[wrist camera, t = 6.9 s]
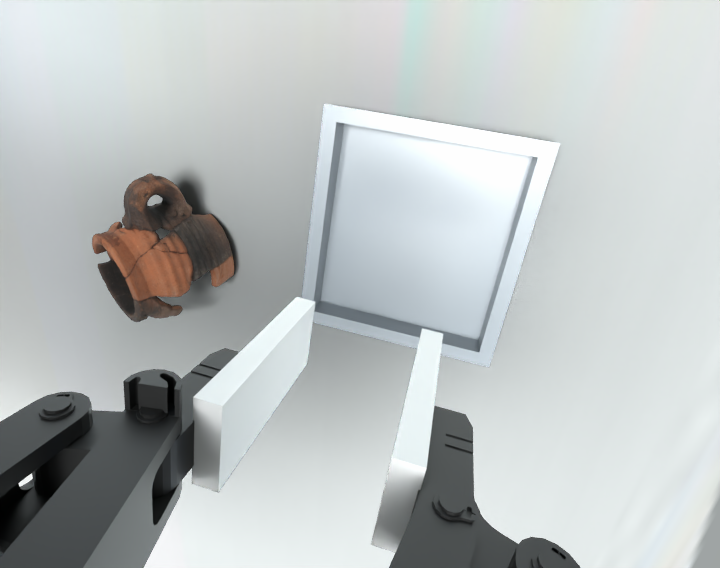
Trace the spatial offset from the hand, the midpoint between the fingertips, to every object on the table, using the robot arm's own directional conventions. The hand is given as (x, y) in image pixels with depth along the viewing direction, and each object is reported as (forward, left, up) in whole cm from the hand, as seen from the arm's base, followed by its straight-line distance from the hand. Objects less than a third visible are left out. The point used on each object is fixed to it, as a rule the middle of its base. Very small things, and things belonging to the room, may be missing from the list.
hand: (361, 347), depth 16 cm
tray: (0, 0, -18) cm, 18 cm away
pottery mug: (-18, -3, -19) cm, 26 cm away
